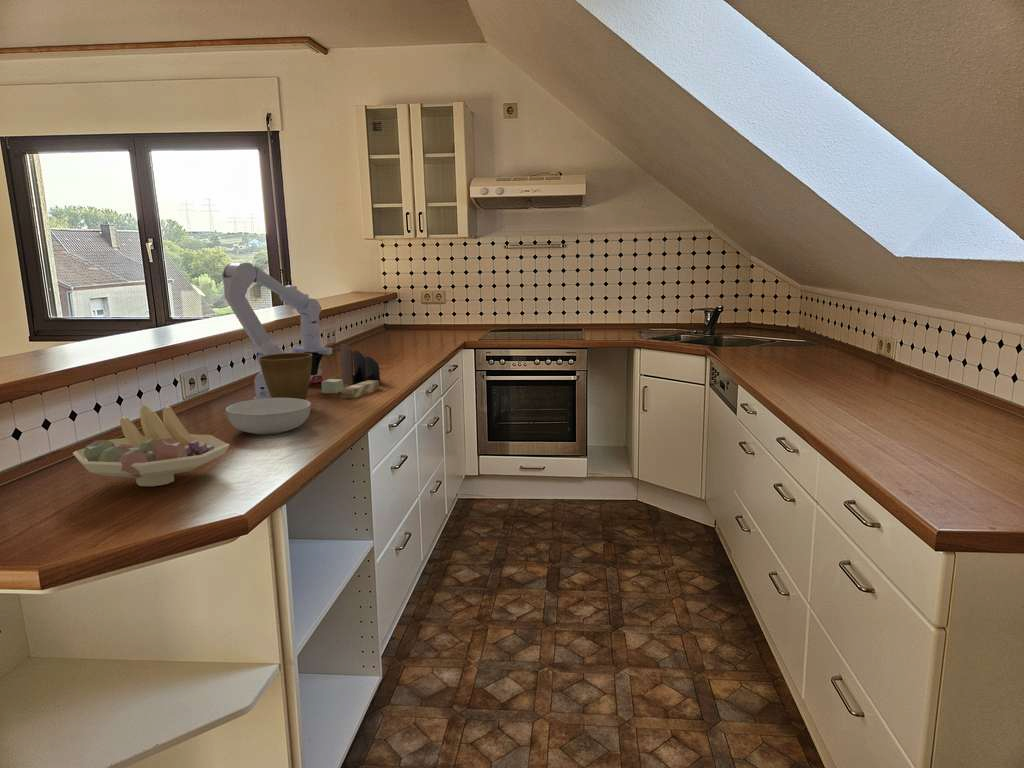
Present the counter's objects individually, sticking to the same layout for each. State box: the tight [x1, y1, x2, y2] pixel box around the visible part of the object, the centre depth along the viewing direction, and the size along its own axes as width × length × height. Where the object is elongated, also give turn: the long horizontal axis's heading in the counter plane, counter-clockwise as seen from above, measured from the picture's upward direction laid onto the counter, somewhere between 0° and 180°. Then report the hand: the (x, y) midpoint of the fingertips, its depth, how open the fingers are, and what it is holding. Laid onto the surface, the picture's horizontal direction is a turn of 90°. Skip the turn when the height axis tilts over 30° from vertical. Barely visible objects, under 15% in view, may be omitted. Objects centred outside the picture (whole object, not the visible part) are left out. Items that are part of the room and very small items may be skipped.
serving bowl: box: [225, 398, 312, 436], centre depth 183 cm, size 21×21×7 cm
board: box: [340, 380, 380, 399], centre depth 230 cm, size 16×4×3 cm, turn 159°
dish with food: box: [72, 404, 230, 487], centre depth 142 cm, size 28×28×14 cm
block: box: [320, 378, 344, 394], centre depth 233 cm, size 5×5×4 cm
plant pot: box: [259, 352, 312, 400], centre depth 208 cm, size 15×15×16 cm
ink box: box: [307, 351, 323, 384], centre depth 250 cm, size 9×5×12 cm, turn 103°
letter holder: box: [340, 343, 382, 387], centre depth 249 cm, size 10×20×14 cm, turn 24°
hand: (313, 374), depth 236 cm, fingers closed
